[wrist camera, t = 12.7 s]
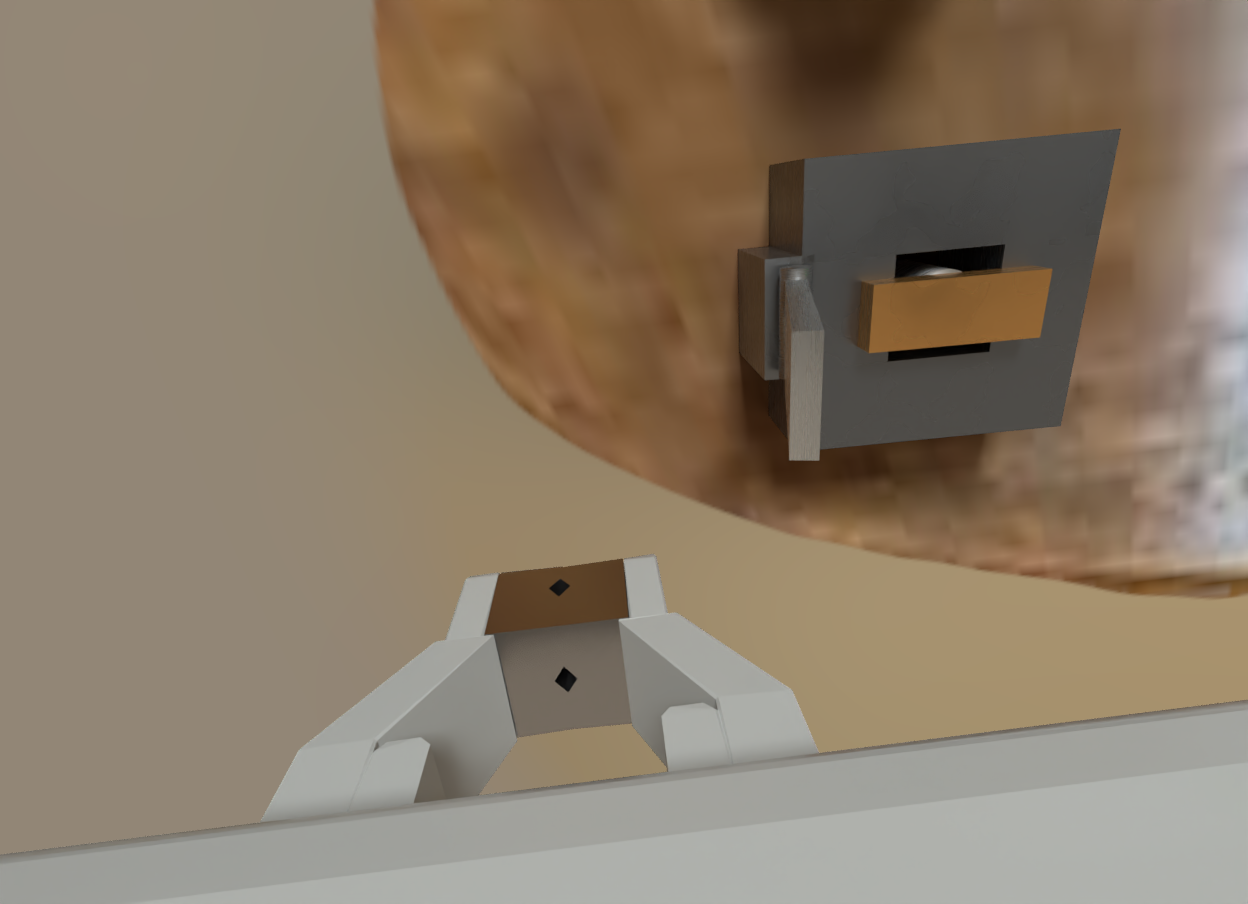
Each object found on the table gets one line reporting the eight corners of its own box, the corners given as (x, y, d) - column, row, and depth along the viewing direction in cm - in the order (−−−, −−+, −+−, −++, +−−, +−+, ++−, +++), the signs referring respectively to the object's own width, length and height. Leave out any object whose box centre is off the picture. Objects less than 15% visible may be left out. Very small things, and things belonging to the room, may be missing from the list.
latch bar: (833, 314, 15) (783, 316, 15) (826, 474, 17) (781, 472, 17) (811, 264, 24) (779, 266, 24) (807, 372, 26) (778, 372, 26)
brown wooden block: (970, 252, 29) (1053, 264, 24) (962, 315, 30) (1039, 341, 25) (823, 265, 29) (874, 281, 24) (821, 328, 30) (868, 356, 25)
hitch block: (1033, 139, 28) (1120, 128, 23) (994, 393, 32) (1060, 425, 28) (736, 168, 28) (764, 162, 23) (740, 418, 32) (764, 455, 28)
